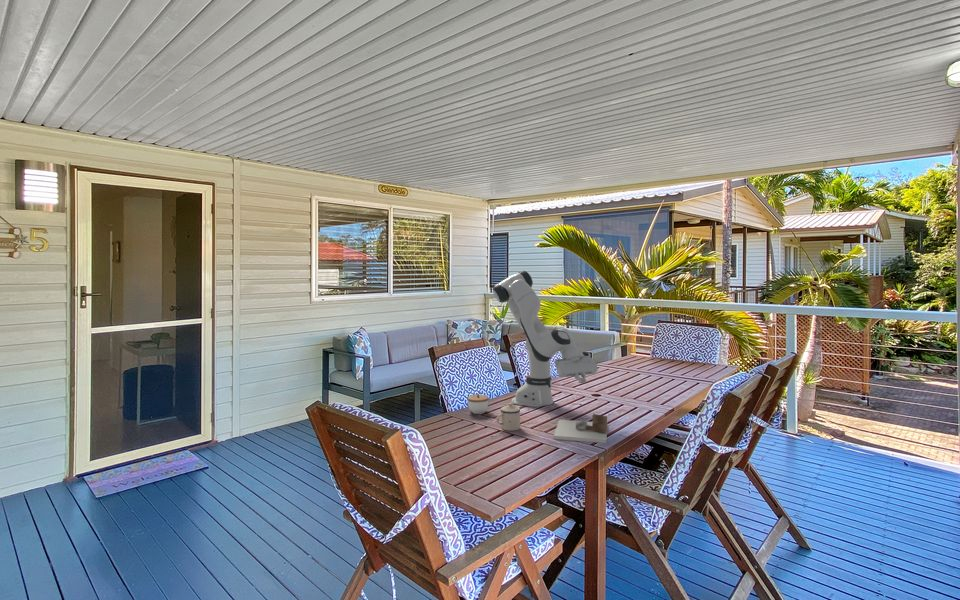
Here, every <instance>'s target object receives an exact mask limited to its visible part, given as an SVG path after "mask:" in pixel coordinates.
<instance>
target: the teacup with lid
mask: <svg viewBox="0 0 960 600" xmlns="http://www.w3.org/2000/svg"><path fill="white" fill-rule="evenodd" d="M499 419H500V420H501V421H500V420H499ZM496 423H497V425H499V426H501V427H500V428H501V430H504V431H508V432H511V431H512V432H515V431H518V430H520V429H521V408H520V407H519V406H516V405H515V404H512V402H508V404H507V405H505V406H502V407H501V408H500V413H499V414H498V415H496Z"/></svg>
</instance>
